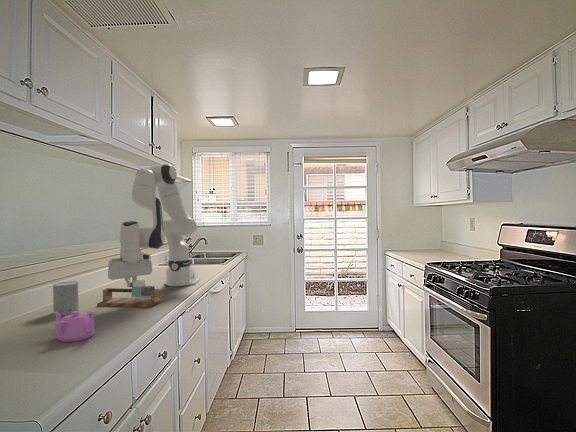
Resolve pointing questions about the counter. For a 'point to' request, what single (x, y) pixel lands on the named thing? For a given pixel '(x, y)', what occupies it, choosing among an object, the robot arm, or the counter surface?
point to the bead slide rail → (145, 290)
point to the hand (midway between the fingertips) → (131, 286)
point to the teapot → (74, 326)
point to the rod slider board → (130, 300)
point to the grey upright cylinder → (65, 297)
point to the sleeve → (138, 288)
